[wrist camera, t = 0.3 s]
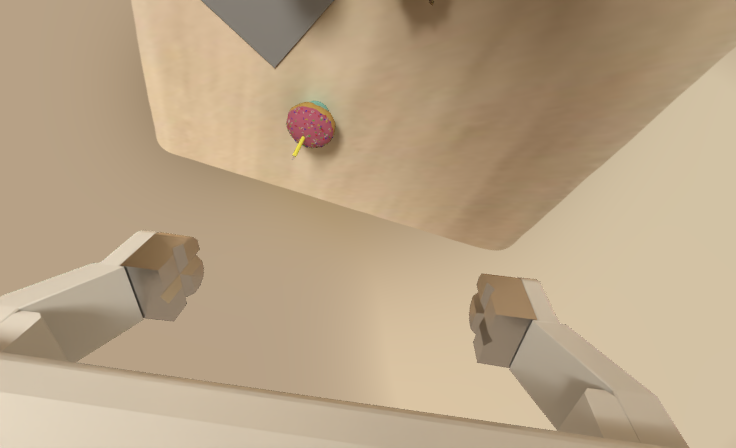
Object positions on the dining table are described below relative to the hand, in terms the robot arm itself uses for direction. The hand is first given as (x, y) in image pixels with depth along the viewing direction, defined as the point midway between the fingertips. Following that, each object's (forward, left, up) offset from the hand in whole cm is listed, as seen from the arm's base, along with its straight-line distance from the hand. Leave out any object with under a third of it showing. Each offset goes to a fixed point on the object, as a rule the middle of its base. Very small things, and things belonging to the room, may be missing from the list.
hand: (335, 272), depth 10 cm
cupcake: (+30, +9, -50) cm, 60 cm away
